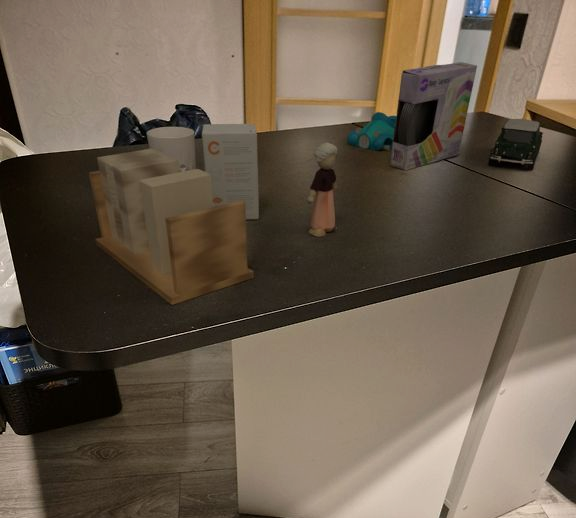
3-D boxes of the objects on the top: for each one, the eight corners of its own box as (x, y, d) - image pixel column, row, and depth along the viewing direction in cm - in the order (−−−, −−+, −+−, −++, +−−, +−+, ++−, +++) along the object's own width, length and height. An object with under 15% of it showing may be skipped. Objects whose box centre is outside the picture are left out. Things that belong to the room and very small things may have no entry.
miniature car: (538, 152, 122) (549, 113, 117) (531, 173, 109) (543, 130, 104) (497, 148, 125) (506, 109, 120) (485, 167, 112) (495, 125, 107)
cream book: (163, 275, 68) (151, 186, 61) (151, 267, 70) (138, 179, 63) (216, 259, 72) (211, 174, 65) (205, 252, 74) (198, 168, 67)
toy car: (343, 144, 126) (345, 112, 122) (387, 131, 137) (391, 102, 132) (381, 152, 120) (385, 120, 116) (424, 139, 131) (429, 108, 127)
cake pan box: (402, 172, 108) (417, 71, 98) (384, 166, 111) (396, 68, 101) (460, 157, 118) (479, 64, 108) (442, 152, 121) (458, 61, 111)
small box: (257, 206, 91) (255, 122, 83) (259, 220, 86) (257, 132, 78) (208, 207, 91) (202, 123, 83) (208, 221, 86) (201, 132, 78)
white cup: (174, 182, 101) (168, 124, 95) (208, 190, 98) (203, 130, 92) (145, 194, 96) (136, 133, 89) (179, 202, 92) (173, 139, 86)
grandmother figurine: (326, 241, 80) (332, 150, 72) (302, 237, 81) (305, 147, 73) (341, 223, 86) (348, 138, 78) (318, 220, 87) (323, 135, 79)
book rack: (171, 305, 64) (158, 204, 57) (96, 245, 77) (77, 157, 70) (254, 278, 70) (251, 183, 63) (170, 227, 83) (160, 144, 76)
